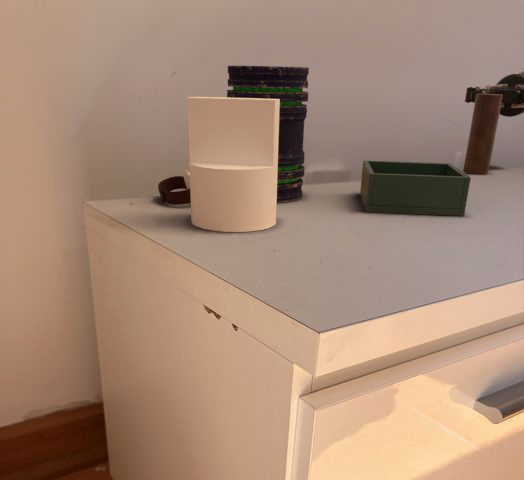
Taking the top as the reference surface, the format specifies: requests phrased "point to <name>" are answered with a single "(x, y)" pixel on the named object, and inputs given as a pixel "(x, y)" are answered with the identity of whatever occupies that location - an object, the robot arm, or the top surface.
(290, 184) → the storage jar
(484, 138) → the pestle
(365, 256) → the top surface
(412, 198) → the bin
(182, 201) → the watch
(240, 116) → the cylinder with rectangular tab
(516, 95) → the robot arm
